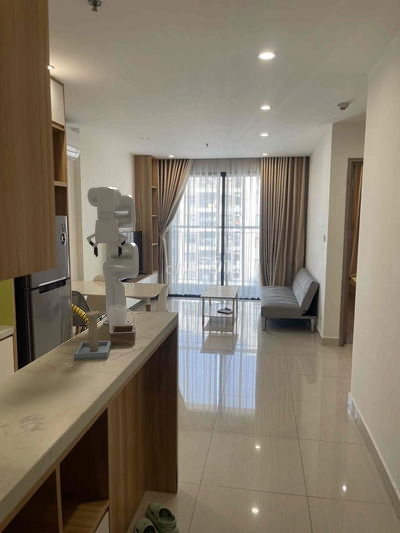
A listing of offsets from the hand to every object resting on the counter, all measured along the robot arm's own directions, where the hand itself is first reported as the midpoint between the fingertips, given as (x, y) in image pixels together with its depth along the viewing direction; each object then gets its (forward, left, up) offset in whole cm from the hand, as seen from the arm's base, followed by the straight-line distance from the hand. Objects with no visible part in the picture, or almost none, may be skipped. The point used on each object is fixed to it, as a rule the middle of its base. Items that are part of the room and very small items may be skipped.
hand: (108, 256), depth 169 cm
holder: (+7, +6, -36) cm, 37 cm away
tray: (+21, -5, -36) cm, 42 cm away
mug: (-6, +4, -36) cm, 37 cm away
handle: (+20, -5, -35) cm, 41 cm away
